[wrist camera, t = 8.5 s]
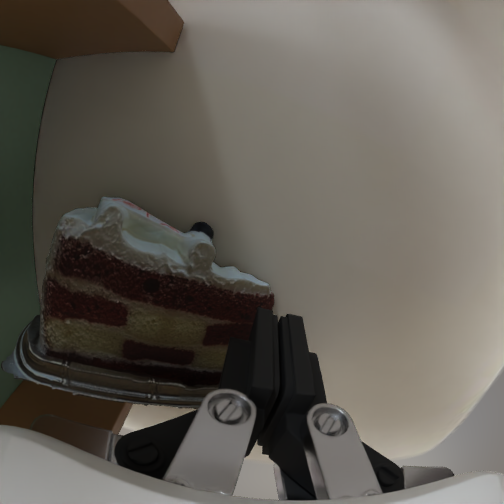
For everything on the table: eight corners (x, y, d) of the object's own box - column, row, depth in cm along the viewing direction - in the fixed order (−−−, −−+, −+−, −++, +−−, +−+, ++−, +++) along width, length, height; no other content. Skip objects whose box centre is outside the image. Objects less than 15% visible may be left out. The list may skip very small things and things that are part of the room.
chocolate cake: (336, 270, 12) (17, 161, 3) (279, 400, 12) (14, 455, 3) (207, 222, 18) (28, 162, 9) (175, 319, 19) (2, 299, 9)
